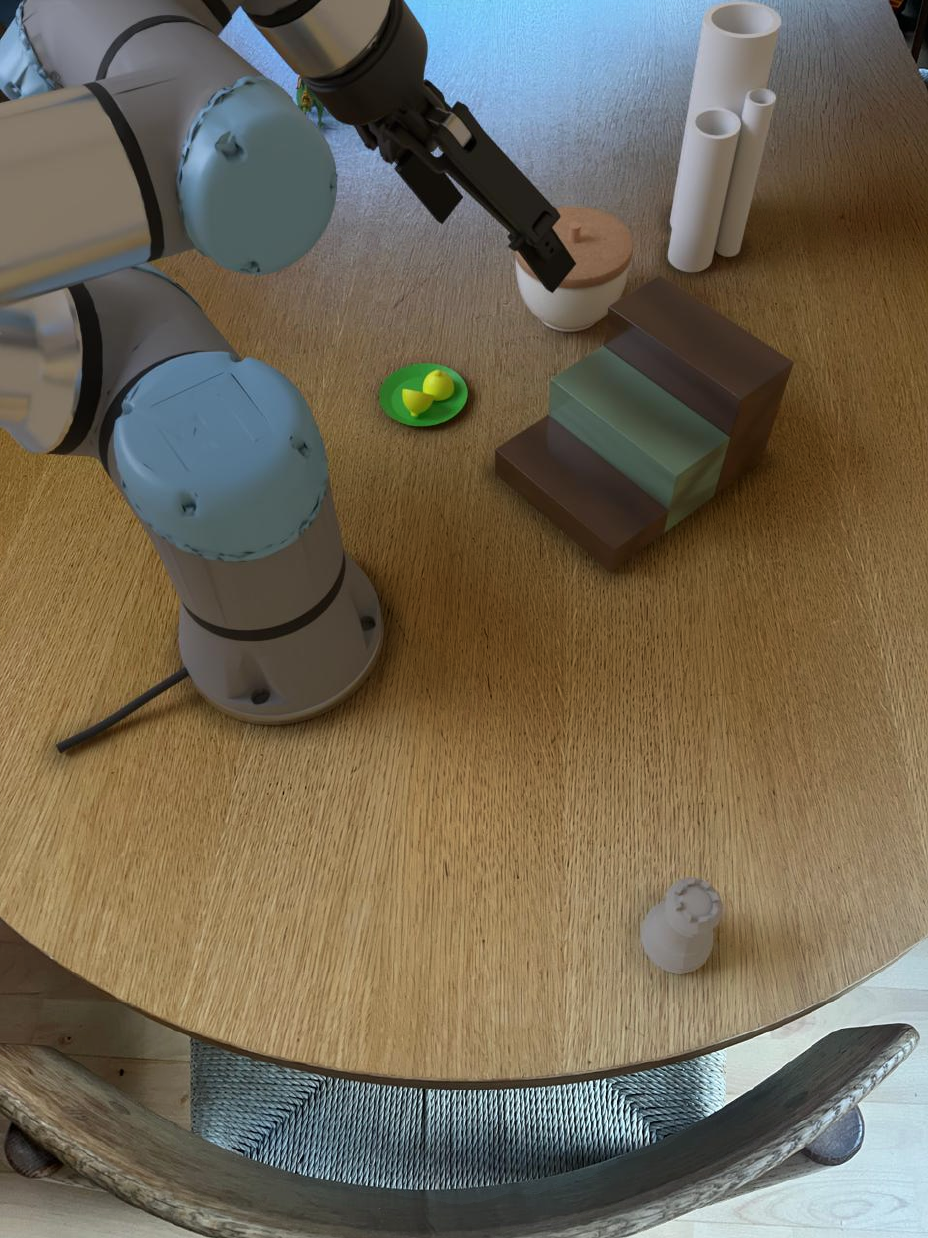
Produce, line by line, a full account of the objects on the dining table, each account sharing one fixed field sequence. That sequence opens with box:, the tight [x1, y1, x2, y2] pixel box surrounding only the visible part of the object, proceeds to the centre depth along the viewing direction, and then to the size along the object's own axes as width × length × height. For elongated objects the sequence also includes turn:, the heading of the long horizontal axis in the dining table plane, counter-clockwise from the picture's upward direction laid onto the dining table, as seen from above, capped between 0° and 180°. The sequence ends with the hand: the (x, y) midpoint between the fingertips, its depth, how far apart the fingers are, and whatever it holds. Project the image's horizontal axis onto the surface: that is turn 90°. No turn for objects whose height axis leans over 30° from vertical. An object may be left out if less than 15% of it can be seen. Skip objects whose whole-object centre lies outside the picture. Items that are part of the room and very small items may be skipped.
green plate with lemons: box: [378, 362, 468, 427], centre depth 88 cm, size 8×8×3 cm
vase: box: [667, 0, 782, 273], centre depth 92 cm, size 11×7×20 cm, turn 172°
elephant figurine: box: [295, 75, 326, 130], centre depth 110 cm, size 3×12×8 cm, turn 2°
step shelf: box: [494, 274, 795, 574], centre depth 79 cm, size 18×14×11 cm
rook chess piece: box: [640, 876, 724, 975], centre depth 58 cm, size 4×4×8 cm
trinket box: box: [514, 206, 634, 333], centre depth 91 cm, size 11×11×9 cm
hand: (503, 241), depth 76 cm, fingers open, 13 cm apart
